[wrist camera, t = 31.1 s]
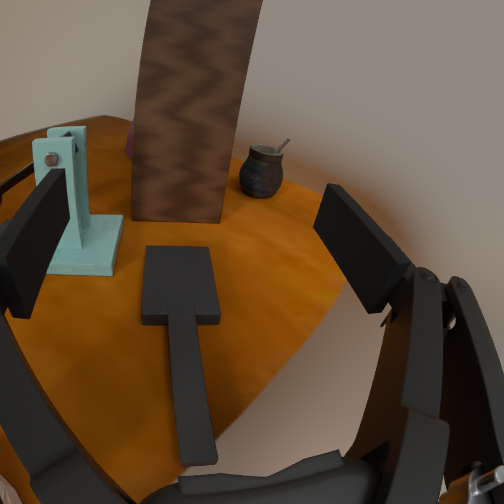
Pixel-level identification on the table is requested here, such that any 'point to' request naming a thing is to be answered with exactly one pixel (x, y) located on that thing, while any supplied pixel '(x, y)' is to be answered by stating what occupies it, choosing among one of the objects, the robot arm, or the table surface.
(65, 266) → the mounting bracket
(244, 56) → the shelf block
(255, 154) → the mate gourd
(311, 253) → the table surface
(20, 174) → the black knobbed rod
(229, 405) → the table surface
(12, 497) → the white cup
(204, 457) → the spatula
